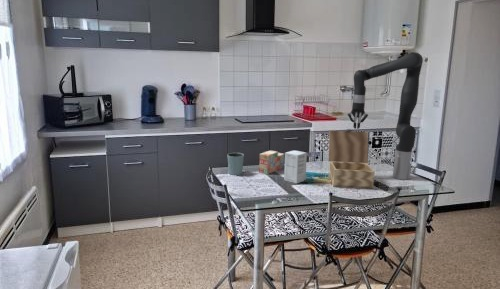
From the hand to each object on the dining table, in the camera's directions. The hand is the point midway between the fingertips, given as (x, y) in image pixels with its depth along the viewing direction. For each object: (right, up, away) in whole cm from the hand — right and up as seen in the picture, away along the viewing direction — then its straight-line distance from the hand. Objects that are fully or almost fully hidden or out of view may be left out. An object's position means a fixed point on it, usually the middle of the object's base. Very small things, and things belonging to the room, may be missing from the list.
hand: (356, 128), depth 246 cm
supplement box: (-43, -32, -23) cm, 58 cm away
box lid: (-10, -11, -18) cm, 23 cm away
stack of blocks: (-55, -27, -3) cm, 61 cm away
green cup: (-78, -28, -13) cm, 84 cm away
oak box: (-11, -33, -25) cm, 43 cm away
